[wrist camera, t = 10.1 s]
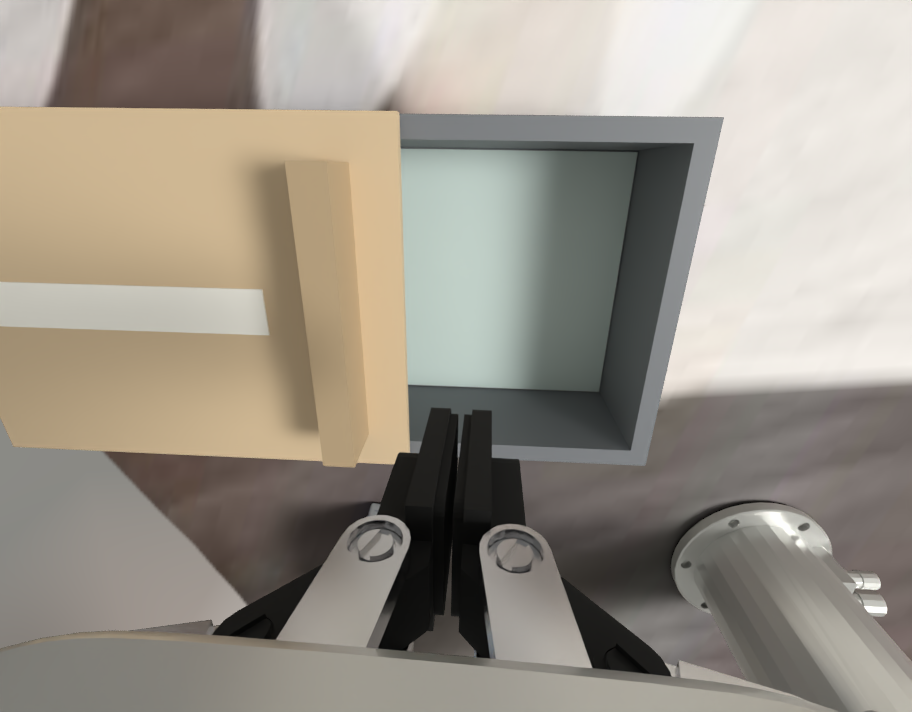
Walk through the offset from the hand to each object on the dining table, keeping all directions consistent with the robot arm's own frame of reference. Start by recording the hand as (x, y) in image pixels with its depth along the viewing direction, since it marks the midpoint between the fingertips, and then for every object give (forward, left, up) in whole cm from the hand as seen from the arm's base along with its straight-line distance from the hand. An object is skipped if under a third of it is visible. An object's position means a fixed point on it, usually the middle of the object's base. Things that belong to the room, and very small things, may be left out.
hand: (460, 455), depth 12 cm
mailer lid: (+15, 0, -11) cm, 19 cm away
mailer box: (+1, 0, -20) cm, 20 cm away
